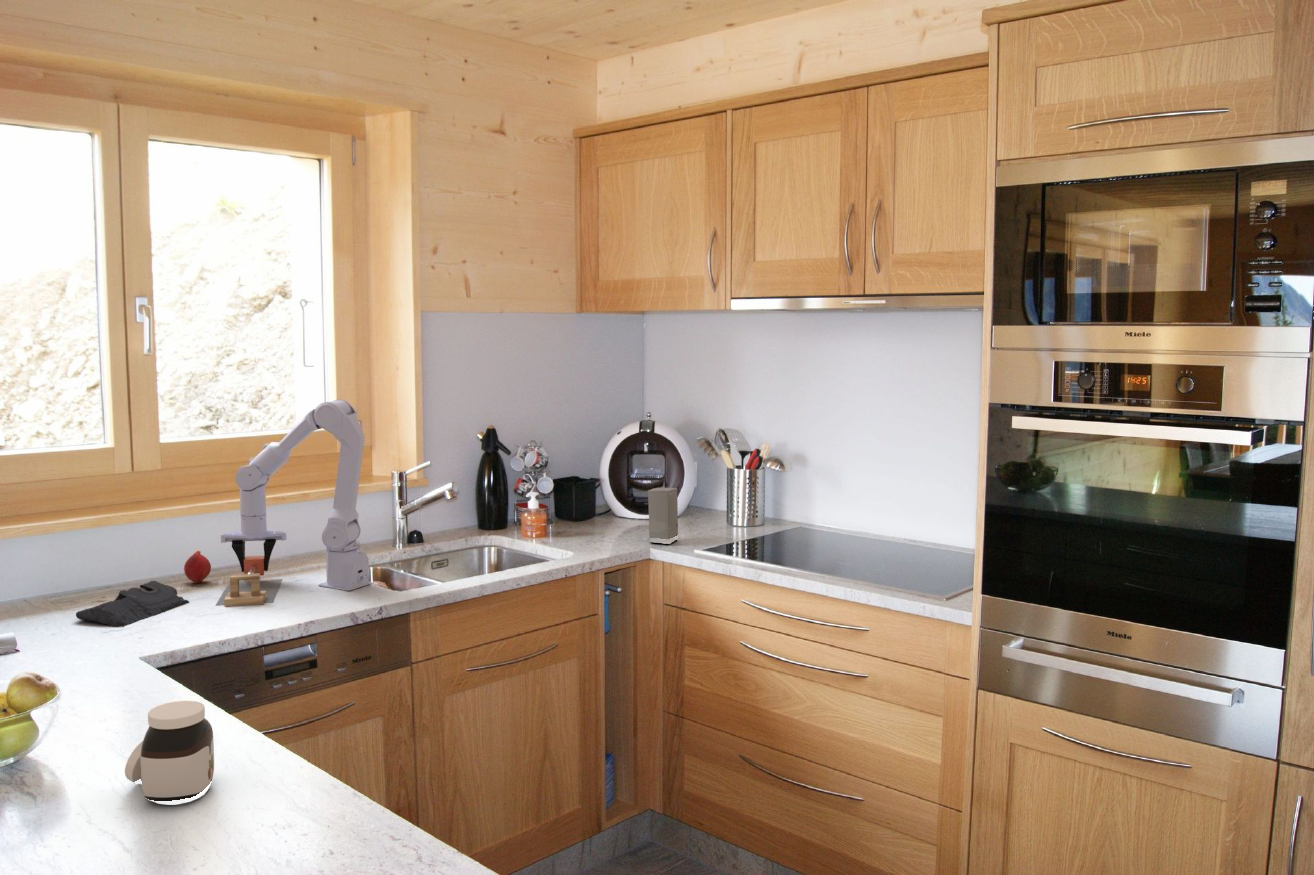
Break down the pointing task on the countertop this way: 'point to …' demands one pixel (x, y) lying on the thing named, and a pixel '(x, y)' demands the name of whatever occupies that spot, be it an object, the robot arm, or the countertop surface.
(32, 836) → the countertop surface
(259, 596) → the wooden arch frame
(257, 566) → the copper cube mallet
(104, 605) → the black folded cloth
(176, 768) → the spread jar
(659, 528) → the skincare box
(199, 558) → the onion
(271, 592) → the gray panel
